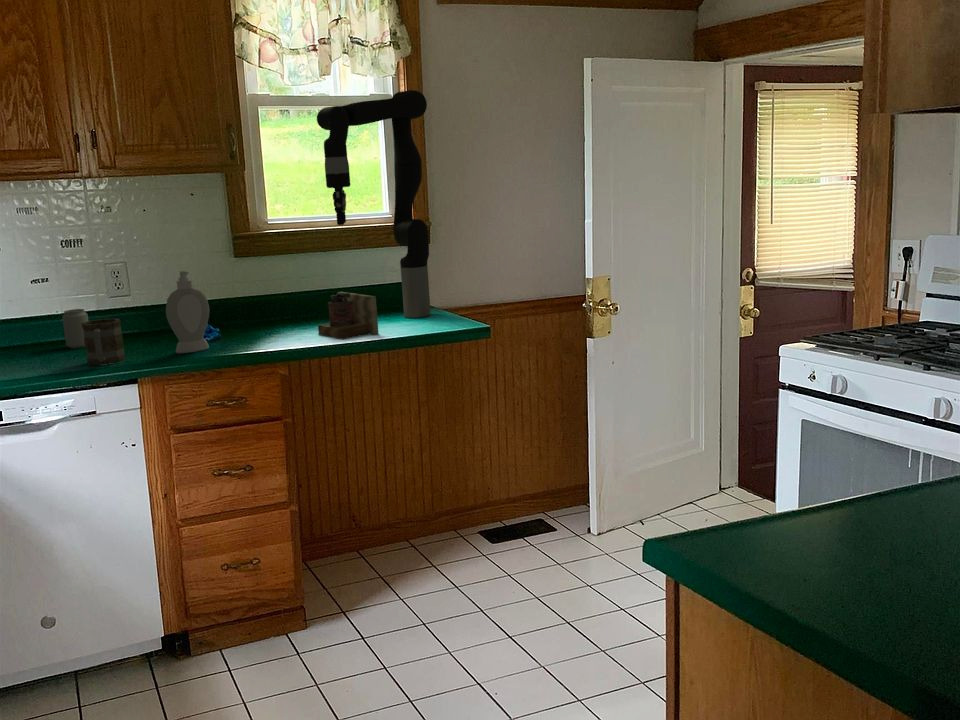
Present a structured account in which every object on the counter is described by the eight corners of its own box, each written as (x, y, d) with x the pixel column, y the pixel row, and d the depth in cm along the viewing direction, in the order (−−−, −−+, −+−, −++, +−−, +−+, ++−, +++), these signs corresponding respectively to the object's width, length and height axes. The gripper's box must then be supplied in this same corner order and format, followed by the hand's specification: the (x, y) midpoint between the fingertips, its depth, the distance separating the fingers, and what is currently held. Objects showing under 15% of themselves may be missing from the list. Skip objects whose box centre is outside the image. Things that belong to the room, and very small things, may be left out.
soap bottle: (175, 356, 274) (165, 274, 269) (168, 352, 281) (158, 272, 276) (219, 349, 281) (209, 269, 276) (211, 346, 288) (201, 267, 282)
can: (67, 350, 295) (62, 312, 292) (65, 346, 301) (60, 310, 299) (93, 346, 298) (87, 309, 296) (90, 343, 305) (85, 307, 302)
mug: (90, 360, 276) (84, 320, 274) (128, 356, 278) (123, 317, 276) (80, 371, 261) (74, 329, 258) (121, 367, 263) (115, 325, 261)
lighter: (330, 327, 292) (327, 295, 290) (328, 325, 295) (326, 294, 293) (356, 324, 294) (353, 293, 292) (354, 322, 297) (351, 291, 295)
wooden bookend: (314, 333, 300) (310, 296, 297) (345, 327, 307) (341, 291, 304) (346, 340, 285) (343, 301, 282) (378, 334, 292) (375, 296, 289)
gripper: (327, 172, 300) (331, 223, 303) (323, 173, 286) (328, 226, 289) (350, 171, 300) (354, 221, 304) (348, 171, 286) (352, 224, 290)
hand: (341, 224), depth 296 cm, fingers open, 8 cm apart
